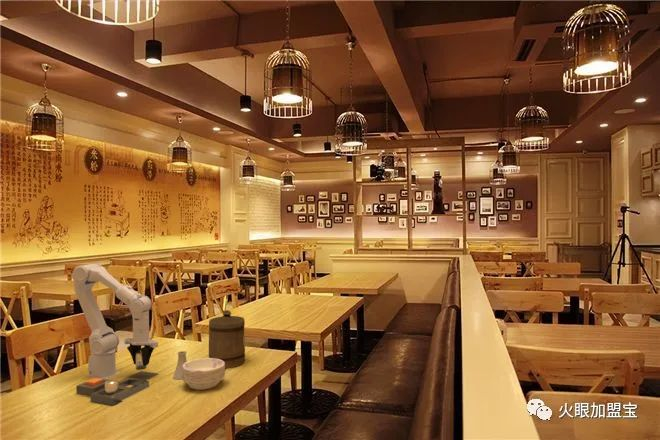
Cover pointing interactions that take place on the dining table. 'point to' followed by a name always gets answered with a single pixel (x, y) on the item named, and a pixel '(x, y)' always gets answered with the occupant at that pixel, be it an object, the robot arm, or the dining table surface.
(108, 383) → the light bulb
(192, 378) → the paper bowls
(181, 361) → the flask
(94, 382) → the button
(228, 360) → the wooden container
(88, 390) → the button housing
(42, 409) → the dining table surface
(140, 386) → the grey flat rectangular frame
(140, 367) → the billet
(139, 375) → the rubber mat
